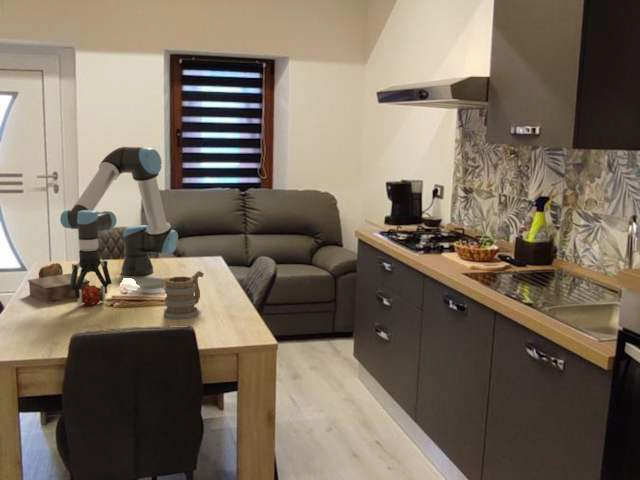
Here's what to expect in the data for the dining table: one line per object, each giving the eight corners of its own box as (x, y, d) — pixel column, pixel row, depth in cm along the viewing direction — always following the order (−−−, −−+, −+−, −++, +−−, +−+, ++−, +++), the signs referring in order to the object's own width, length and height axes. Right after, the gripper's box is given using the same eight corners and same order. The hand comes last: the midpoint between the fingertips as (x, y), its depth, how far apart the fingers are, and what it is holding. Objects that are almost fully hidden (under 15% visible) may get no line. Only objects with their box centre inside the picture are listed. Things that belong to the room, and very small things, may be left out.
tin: (44, 286, 292) (43, 268, 291) (37, 286, 293) (36, 268, 291) (63, 279, 307) (62, 261, 305) (57, 278, 307) (56, 261, 306)
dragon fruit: (93, 303, 272) (93, 315, 261) (75, 293, 268) (74, 305, 257) (105, 287, 271) (105, 299, 260) (87, 277, 267) (87, 288, 257)
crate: (71, 288, 291) (70, 273, 290) (90, 296, 278) (89, 280, 277) (29, 295, 278) (28, 279, 277) (46, 304, 265) (45, 288, 264)
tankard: (181, 321, 245) (180, 282, 242) (157, 315, 252) (155, 277, 249) (216, 308, 262) (216, 272, 259) (193, 303, 268) (192, 268, 266)
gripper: (111, 244, 271) (113, 297, 275) (58, 250, 257) (61, 306, 261) (118, 247, 265) (121, 301, 269) (65, 253, 251) (68, 310, 255)
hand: (91, 303), depth 265 cm, fingers closed on dragon fruit, 9 cm apart
